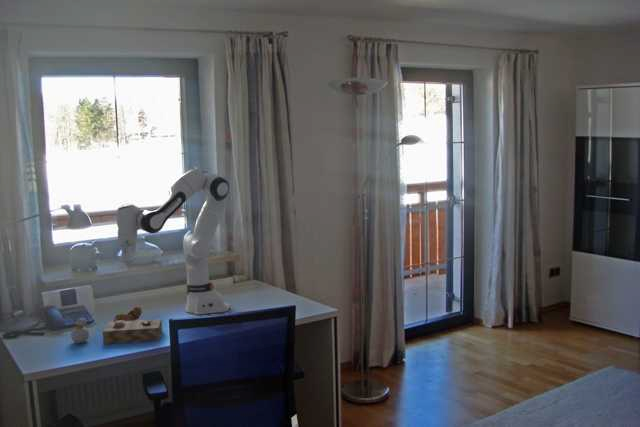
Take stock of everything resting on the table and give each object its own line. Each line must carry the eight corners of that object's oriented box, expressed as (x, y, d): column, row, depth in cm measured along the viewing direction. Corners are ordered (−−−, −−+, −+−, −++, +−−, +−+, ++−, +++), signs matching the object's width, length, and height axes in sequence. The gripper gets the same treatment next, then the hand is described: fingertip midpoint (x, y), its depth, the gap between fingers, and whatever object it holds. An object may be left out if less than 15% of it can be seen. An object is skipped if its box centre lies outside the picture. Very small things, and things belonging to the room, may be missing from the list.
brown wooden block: (162, 331, 308) (161, 318, 307) (159, 340, 294) (158, 327, 294) (109, 334, 305) (108, 322, 304) (103, 344, 291) (102, 331, 290)
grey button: (152, 332, 303) (151, 320, 302) (151, 335, 298) (150, 323, 298) (142, 332, 302) (141, 321, 301) (141, 335, 298) (140, 323, 297)
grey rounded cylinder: (125, 331, 301) (124, 320, 300) (123, 334, 297) (123, 322, 296) (115, 332, 300) (114, 320, 300) (113, 335, 296) (113, 323, 295)
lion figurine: (141, 322, 323) (140, 304, 322) (143, 325, 318) (142, 307, 317) (110, 327, 316) (109, 309, 315) (112, 330, 312) (111, 311, 310)
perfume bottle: (81, 338, 300) (79, 313, 299) (96, 341, 296) (94, 315, 294) (68, 343, 294) (65, 317, 292) (83, 346, 289) (81, 320, 288)
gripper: (131, 242, 299) (133, 272, 300) (137, 235, 319) (139, 263, 321) (117, 243, 298) (119, 273, 300) (124, 235, 318) (125, 264, 320)
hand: (129, 268), depth 310 cm, fingers closed
